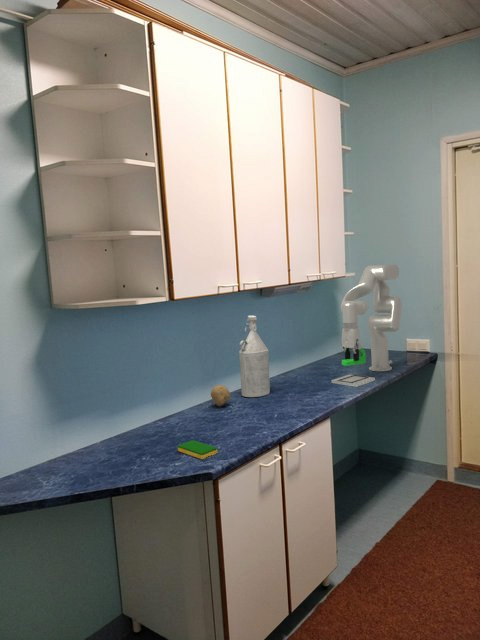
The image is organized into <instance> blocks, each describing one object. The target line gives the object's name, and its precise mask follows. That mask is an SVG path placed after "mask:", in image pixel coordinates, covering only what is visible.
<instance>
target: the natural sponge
mask: <svg viewBox="0 0 480 640" xmlns="http://www.w3.org/2000/svg"><path fill="white" fill-rule="evenodd" d="M210 397H211V400H212V401H213V403H214V404H215V405H216V406H218V407H222V406H224V404H226V403H227V402H229V401H230V399H231V393H230V391H229V389H228V387H226V386H225V385H223V384H217V385H216V386H214V387H212V389H211V390H210Z"/></svg>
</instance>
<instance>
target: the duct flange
mask: <svg viewBox="0 0 480 640" xmlns="http://www.w3.org/2000/svg"><path fill="white" fill-rule="evenodd" d="M375 381H376V377H373V376H372V377H371V376H367V375H360V374H359V375H358V374H347V375H343V376H339V377H337V378H334V379H331V384H336V385H342V386H350V387H356V388H357V387H360V386H363V385H366V384H369V383H372V382H375Z"/></svg>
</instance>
